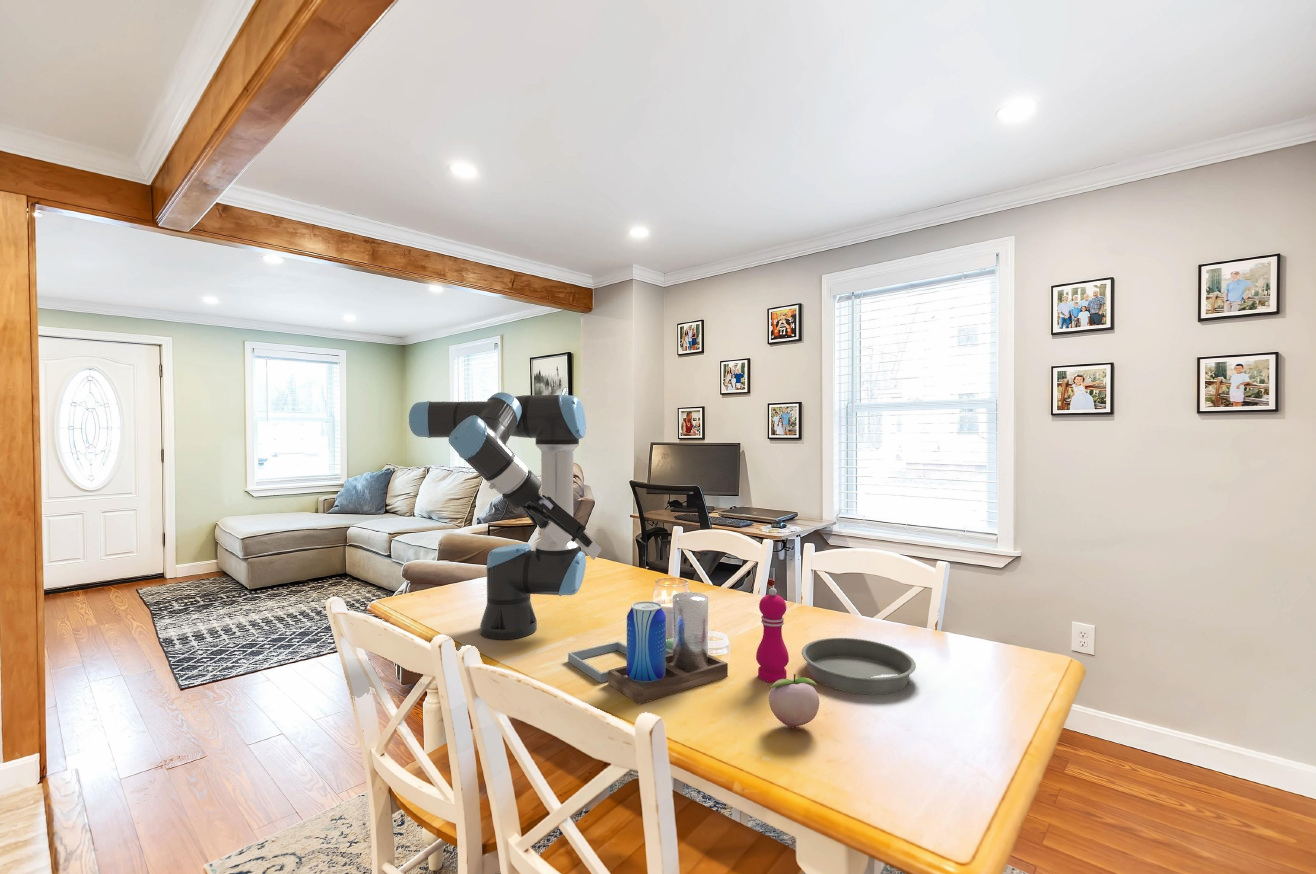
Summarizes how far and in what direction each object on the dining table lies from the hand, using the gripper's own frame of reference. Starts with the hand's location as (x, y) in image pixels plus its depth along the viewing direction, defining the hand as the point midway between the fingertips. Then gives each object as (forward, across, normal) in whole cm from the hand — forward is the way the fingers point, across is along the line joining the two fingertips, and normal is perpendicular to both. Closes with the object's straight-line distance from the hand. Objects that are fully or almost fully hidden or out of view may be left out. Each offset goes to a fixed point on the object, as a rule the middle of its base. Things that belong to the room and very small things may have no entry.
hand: (581, 549), depth 129 cm
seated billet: (+37, +8, -3) cm, 38 cm away
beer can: (+28, +8, -12) cm, 32 cm away
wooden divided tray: (+34, +8, -8) cm, 35 cm away
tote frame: (+29, -7, -13) cm, 33 cm away
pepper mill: (+48, +20, +6) cm, 52 cm away
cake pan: (+60, +30, +17) cm, 69 cm away
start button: (+40, -2, -2) cm, 40 cm away
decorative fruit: (+38, +39, -4) cm, 55 cm away
